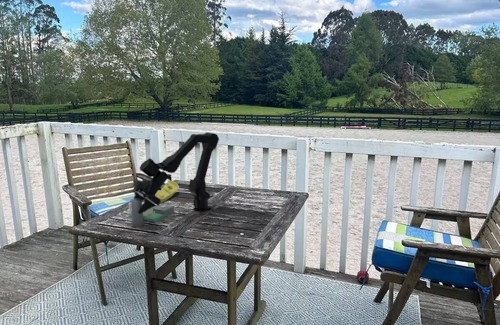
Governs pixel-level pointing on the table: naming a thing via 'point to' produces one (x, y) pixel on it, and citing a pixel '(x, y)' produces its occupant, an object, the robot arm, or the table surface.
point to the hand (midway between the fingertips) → (135, 210)
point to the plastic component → (167, 191)
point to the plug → (136, 212)
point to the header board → (154, 216)
